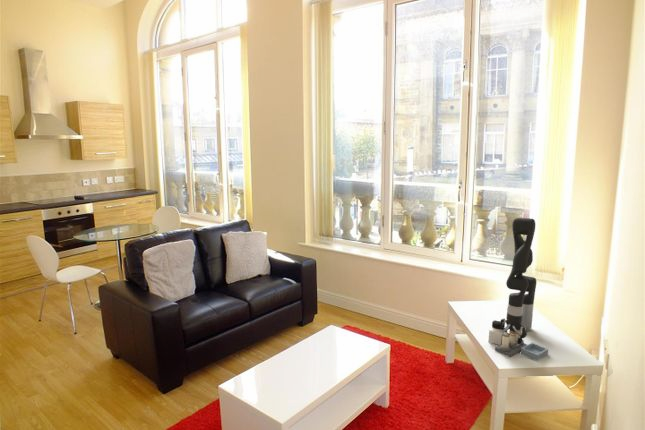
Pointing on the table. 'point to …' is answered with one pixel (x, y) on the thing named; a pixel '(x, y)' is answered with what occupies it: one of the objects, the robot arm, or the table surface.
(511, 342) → the marked fuse
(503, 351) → the fuse holder
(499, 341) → the medicine bottle
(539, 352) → the tray
